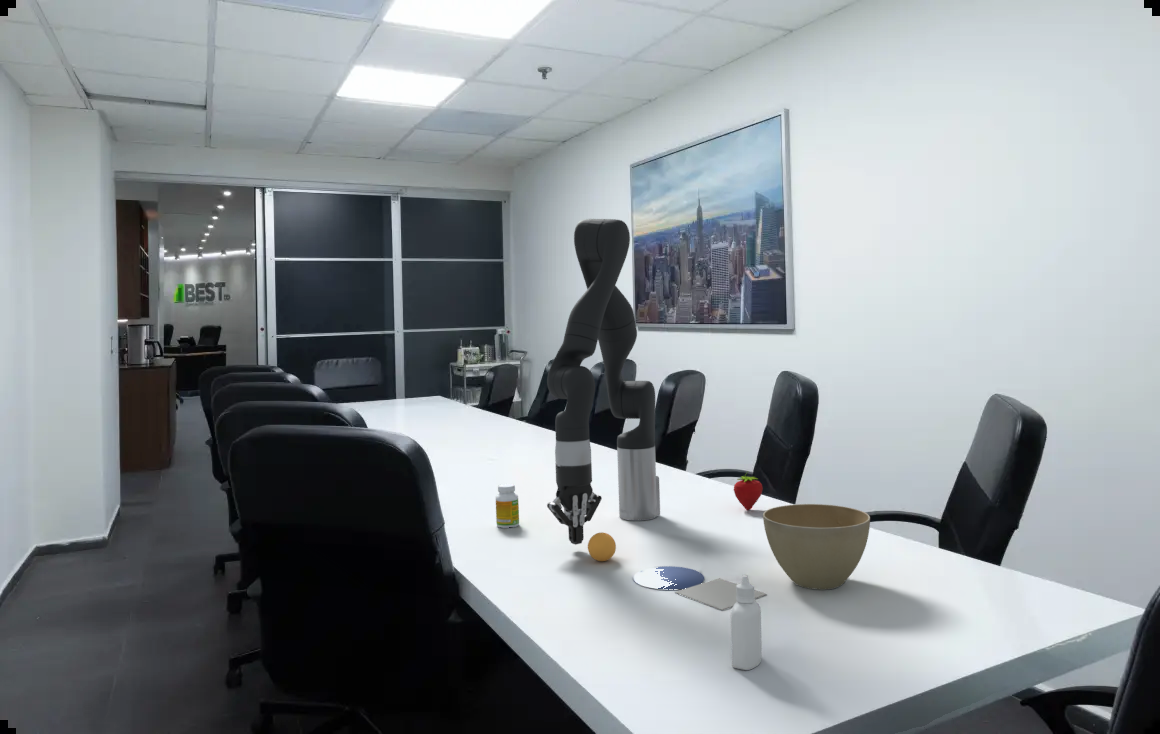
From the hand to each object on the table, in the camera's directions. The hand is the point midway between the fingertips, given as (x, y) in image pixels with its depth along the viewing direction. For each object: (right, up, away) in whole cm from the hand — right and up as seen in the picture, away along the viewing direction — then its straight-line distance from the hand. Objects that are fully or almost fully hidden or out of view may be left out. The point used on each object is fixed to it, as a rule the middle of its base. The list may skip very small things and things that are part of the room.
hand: (576, 543), depth 160 cm
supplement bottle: (-16, -1, +23) cm, 28 cm away
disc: (+17, -2, -20) cm, 26 cm away
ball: (+5, +1, -8) cm, 9 cm away
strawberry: (+43, +1, +30) cm, 52 cm away
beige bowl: (+43, -2, -25) cm, 49 cm away
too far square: (+25, -2, -29) cm, 38 cm away
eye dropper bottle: (+24, -4, -56) cm, 61 cm away
